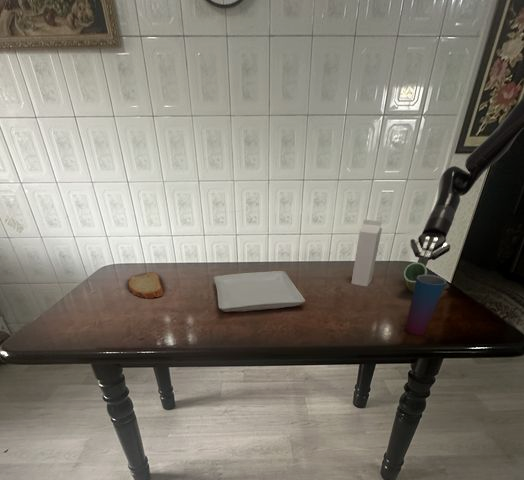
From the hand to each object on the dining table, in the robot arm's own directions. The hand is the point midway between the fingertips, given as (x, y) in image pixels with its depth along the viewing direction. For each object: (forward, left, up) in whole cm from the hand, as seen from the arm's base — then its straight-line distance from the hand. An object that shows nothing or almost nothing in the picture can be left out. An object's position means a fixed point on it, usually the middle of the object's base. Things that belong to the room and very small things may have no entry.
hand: (420, 268), depth 101 cm
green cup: (-1, -2, -6) cm, 7 cm away
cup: (-2, +27, -9) cm, 29 cm away
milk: (+18, -2, -9) cm, 20 cm away
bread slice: (+89, +34, -9) cm, 96 cm away
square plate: (+49, +25, -9) cm, 56 cm away
